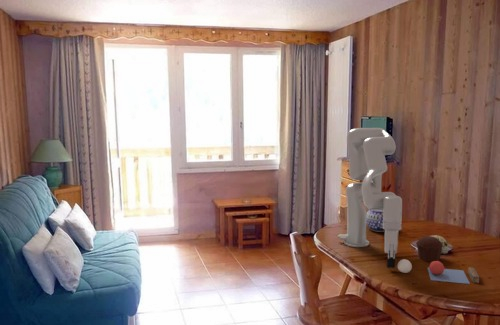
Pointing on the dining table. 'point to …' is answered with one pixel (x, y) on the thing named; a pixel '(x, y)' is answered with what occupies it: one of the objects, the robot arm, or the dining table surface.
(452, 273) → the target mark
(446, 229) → the dining table surface
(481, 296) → the dining table surface
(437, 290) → the dining table surface
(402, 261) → the cue ball
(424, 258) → the muffin
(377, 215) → the teapot
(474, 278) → the stopper wall
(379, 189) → the robot arm
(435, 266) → the red ball
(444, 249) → the seashell
